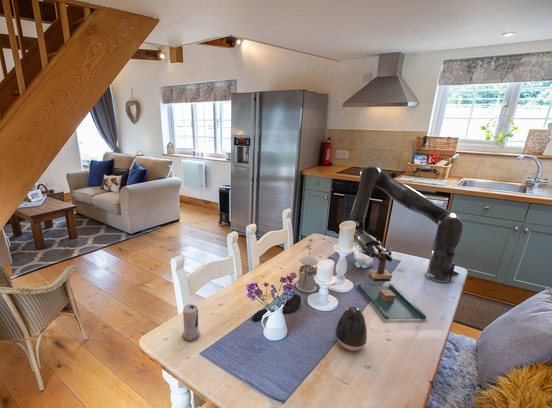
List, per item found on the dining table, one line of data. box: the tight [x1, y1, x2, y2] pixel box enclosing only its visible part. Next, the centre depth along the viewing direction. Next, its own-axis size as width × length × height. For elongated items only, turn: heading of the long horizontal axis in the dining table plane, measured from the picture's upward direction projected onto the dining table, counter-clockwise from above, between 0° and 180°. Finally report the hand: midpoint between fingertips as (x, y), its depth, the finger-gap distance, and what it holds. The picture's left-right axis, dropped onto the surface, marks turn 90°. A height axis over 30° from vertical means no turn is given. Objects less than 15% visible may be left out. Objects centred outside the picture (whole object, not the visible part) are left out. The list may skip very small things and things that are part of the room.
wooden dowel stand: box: [368, 251, 393, 282], centre depth 138 cm, size 5×8×13 cm, turn 90°
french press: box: [295, 237, 319, 294], centre depth 142 cm, size 10×12×25 cm
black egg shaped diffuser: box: [334, 306, 368, 352], centre depth 108 cm, size 10×10×15 cm
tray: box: [357, 283, 427, 320], centre depth 133 cm, size 24×16×2 cm, turn 0°
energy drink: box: [182, 304, 199, 342], centre depth 113 cm, size 5×5×12 cm
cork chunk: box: [379, 290, 395, 301], centre depth 134 cm, size 4×4×3 cm
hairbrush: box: [252, 292, 302, 322], centre depth 129 cm, size 8×4×25 cm
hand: (386, 259), depth 134 cm, fingers closed on wooden dowel stand, 3 cm apart
